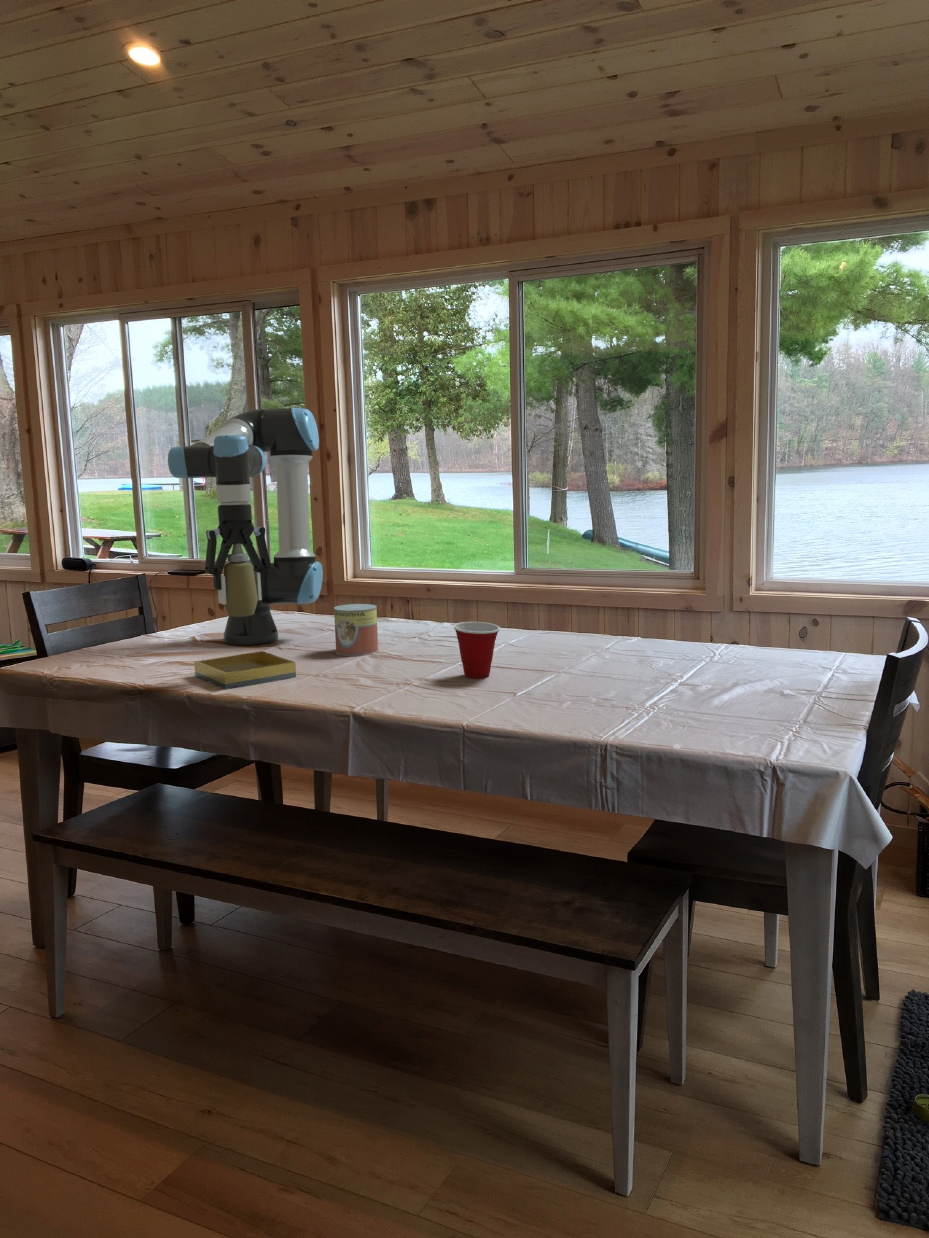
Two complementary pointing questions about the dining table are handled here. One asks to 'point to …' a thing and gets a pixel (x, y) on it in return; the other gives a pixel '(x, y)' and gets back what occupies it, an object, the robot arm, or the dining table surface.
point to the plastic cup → (476, 647)
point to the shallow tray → (244, 669)
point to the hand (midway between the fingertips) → (240, 601)
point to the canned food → (356, 629)
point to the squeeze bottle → (240, 584)
